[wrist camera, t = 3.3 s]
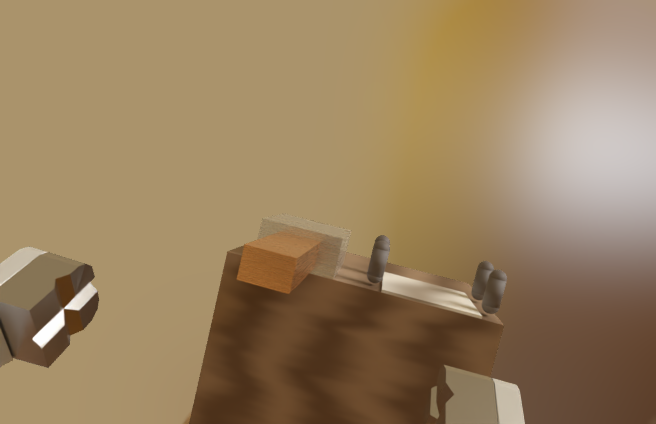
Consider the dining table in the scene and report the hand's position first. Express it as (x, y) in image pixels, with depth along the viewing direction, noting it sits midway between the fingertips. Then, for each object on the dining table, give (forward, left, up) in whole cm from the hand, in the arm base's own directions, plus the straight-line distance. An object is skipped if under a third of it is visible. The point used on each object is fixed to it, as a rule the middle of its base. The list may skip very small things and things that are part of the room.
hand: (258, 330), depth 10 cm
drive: (+3, -21, -3) cm, 22 cm away
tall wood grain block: (-2, -29, -29) cm, 41 cm away
